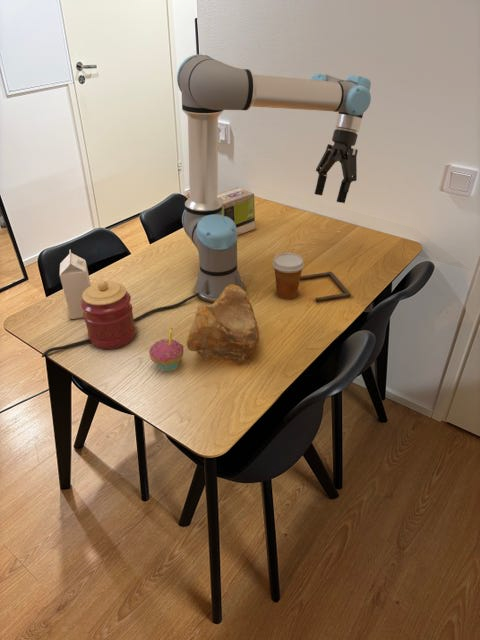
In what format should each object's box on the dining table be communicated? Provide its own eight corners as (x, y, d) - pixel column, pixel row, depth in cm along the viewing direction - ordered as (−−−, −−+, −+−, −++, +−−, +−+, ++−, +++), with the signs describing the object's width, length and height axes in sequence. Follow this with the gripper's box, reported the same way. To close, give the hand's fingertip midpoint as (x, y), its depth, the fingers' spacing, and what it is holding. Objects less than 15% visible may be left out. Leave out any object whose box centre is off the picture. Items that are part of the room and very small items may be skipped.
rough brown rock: (234, 388, 120) (238, 340, 112) (178, 363, 126) (178, 315, 118) (275, 339, 137) (282, 295, 129) (224, 319, 143) (227, 275, 135)
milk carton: (70, 319, 144) (56, 262, 133) (70, 307, 150) (56, 250, 139) (95, 316, 146) (83, 258, 135) (94, 303, 151) (82, 247, 140)
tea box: (239, 221, 200) (238, 186, 191) (255, 229, 193) (255, 193, 185) (209, 232, 192) (207, 195, 183) (225, 240, 185) (224, 203, 177)
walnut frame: (316, 302, 150) (317, 299, 149) (299, 278, 162) (299, 276, 161) (350, 297, 152) (351, 294, 152) (331, 274, 164) (331, 271, 163)
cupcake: (185, 354, 130) (182, 317, 123) (183, 376, 123) (179, 337, 116) (153, 355, 130) (147, 318, 123) (149, 377, 123) (143, 339, 116)
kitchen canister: (90, 354, 131) (76, 298, 121) (88, 326, 141) (75, 273, 131) (139, 345, 134) (130, 289, 124) (133, 319, 144) (125, 266, 134)
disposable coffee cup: (304, 287, 157) (306, 254, 150) (299, 303, 150) (301, 269, 143) (275, 284, 159) (276, 250, 152) (268, 299, 152) (269, 265, 145)
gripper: (380, 136, 146) (360, 207, 153) (334, 130, 167) (318, 193, 174) (360, 131, 143) (340, 204, 150) (316, 125, 164) (300, 190, 171)
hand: (328, 198), depth 162 cm, fingers open, 13 cm apart
